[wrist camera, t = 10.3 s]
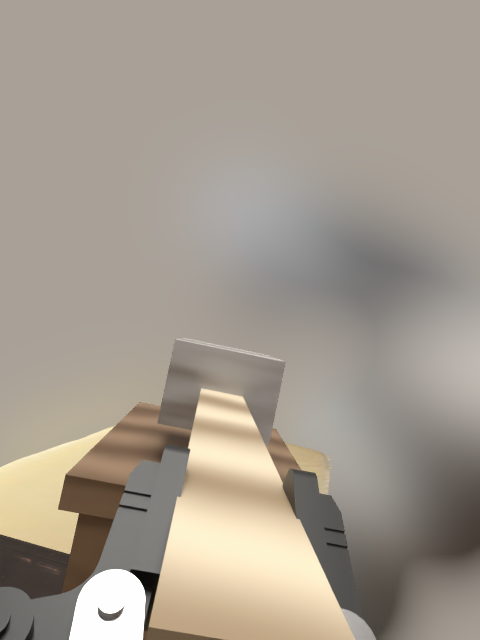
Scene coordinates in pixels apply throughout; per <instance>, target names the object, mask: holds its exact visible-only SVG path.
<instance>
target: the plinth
mask: <svg viewBox="0 0 480 640" xmlns="http://www.w3.org/2000/svg"><path fill="white" fill-rule="evenodd" d="M160 408H161V406H156V405H151V404H146V403H141V402H140V403H138V404H137V405H136V406H135V407H134V408H133V410H132V411H130V412H129V413H128V414H127V415H126V416H125V417H124V418H123V419H122V420H121V421H120V422H119V423H118V424H117V425H116V426H115V427H114V428H113V429H112V430H111V431H110V432H109V433H108V434H107V435H106V436H105V437H104V438H103V439H102V440H101V441H100V442H99V443H97V444H96V445H95V446H94V447H93V448H92V449H91V450H90V451H89V452H88V453H87V454H86V455H85V456H84V457H83V458H82V459H81V460H80V461H79V462H78V463H77V464H76V465H75V466H74V467H73V468H72V469H71V470H70V471H69V472H68V473H67V474H66V476H65V480H64V485H63V489H62V494H61V498H60V503H59V507H58V509H59V510H64V511H70V512H75V513H79V517H78V521H77V526H76V530H75V535H74V540H73V544H72V549H71V553H70V558H69V562H68V567H67V571H66V576H65V580H64V585H63V589H62V593H66V592H68V591H71V590H73V589H75V588H76V587H78V586H80V585H81V584H82V583H84V582H85V581H86V580H87V579H88V578H89V577H90V576H91V574H92V573H93V572H94V570H95V569H96V567H97V565H98V563H99V560H100V558H101V555H102V552H103V549H104V546H105V543H106V541H107V538H108V535H109V532H110V529H111V526H112V524H113V521H114V518H115V515H116V512H117V510H118V508H119V504H120V501H121V498H122V495H123V494H124V490H125V487H126V484H127V481H128V479H129V476H130V473H131V472H132V471H133V470H134V469H135V468H136V467H137V466H138V465H139V464H140V462H141V461H142V460H147V461H152V462H158V463H161V459H162V456H163V452H164V449H165V445H166V444H168V445H173V446H178V447H183V448H188V446H189V441H190V437H191V432H192V430H188V429H183V428H178V427H172V426H167V425H162V424H157V422H158V417H159V412H160ZM265 446H266V448H267V450H268V452H269V454H270V456H271V459H272V461H273V463H274V465H275V467H276V469H277V472H278V474H279V476H280V478H281V480H282V482H283V483H284V480H285V478H286V475H287V472H288V470H289V469H290V468H291V469H296V470H301V469H300V467H299V465H298V464H297V462H296V461H295V459H294V457H293V456H292V454H291V453H290V451H289V449H288V448H287V446H286V445H285V443H284V441H283V440H282V438H281V437H280V435H279V433H278V432H277V430H276V429H272V432H271V437H270V442H269V445H265ZM147 632H148V631H144V633H143V639H142V640H146V637H147Z"/></svg>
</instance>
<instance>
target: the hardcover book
mask: <svg viewBox="0 0 480 640" xmlns="http://www.w3.org/2000/svg"><path fill="white" fill-rule="evenodd" d="M69 558H70V554H66V553H63V552H59V551H56V550H52V549H49V548H45V547H42V546H38V545H35V544H31V543H28V542H24V541H21V540H18V539H14V538H11V537H7V536H4V535H0V587H14V588H17V589H20V590H22V591H23V592H25V593H26V594H27V595H28V596H29V598H30V599H36V598H41V597H47V596H52V595H58V594H62V589H63V585H64V580H65V576H66V571H67V567H68V562H69Z"/></svg>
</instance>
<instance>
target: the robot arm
mask: <svg viewBox="0 0 480 640" xmlns="http://www.w3.org/2000/svg"><path fill="white" fill-rule="evenodd" d="M189 454H190V449H189V448H183V447H178V446H173V445H168V444H166V445H165V449H164V452H163V456H162V459H161V463H158V462H152V461H147V460H142V461H141V462H140V464H139V465H138V466H137V467H136V468H135V469H134V470H133V471H132V472H131V473H130V476H129V479H128V481H127V484H126V487H125V490H124V494H123V495H122V498H121V501H120V504H119V508H118V510H117V512H116V515H115V518H114V521H113V524H112V526H111V529H110V532H109V535H108V538H107V541H106V543H105V546H104V549H103V552H102V555H101V558H100V560H99V563H98V565H97V567H96V569H95V570H94V572H93V573H92V574H91V576H90V577H89V578H88V579H87V580H86V581H85V582H84V583H82V584H81V585H80V586H78V587H76V588H75V589H73V590H71V591H68V592H66V593H62V594H58V595H52V596H47V597H41V598H36V599H30V598H29V596H28V595H27V594H26V593H25V592H23V591H22V590H20V589H17V588H14V587H0V640H142V639H143V633H144V631H148V627H149V623H150V618H151V614H152V609H153V604H154V600H155V595H156V591H157V586H158V582H159V577H160V573H161V568H162V564H163V559H164V555H165V550H166V546H167V541H168V537H169V532H170V527H171V523H172V518H173V514H174V509H175V505H176V500H177V497H181V492H182V488H183V483H184V478H185V473H186V468H187V463H188V459H189ZM282 487H283V489H284V492H285V494H286V496H287V498H288V501H289V503H290V505H291V507H292V510H293V512H294V514H295V516H296V519H300V521H301V524H302V526H303V528H304V530H305V532H306V534H307V537H308V539H309V541H310V543H311V545H312V547H313V550H314V552H315V554H316V556H317V558H318V560H319V563H320V565H321V567H322V569H323V571H324V573H325V576H326V578H327V580H328V582H329V584H330V586H331V589H332V591H333V593H334V595H335V597H336V599H337V602H338V604H339V606H340V608H341V610H342V612H343V615H344V617H345V619H346V621H347V623H348V625H349V628H350V630H351V632H352V634H353V636H354V638H355V640H377V639H375V636H374V634H373V633H372V631H371V629H370V628H369V626H368V625H367V624H366V623H365V622H364V621H363V618H362V616H361V613H360V609H359V605H358V599H357V594H356V589H355V583H354V578H353V573H352V568H351V562H350V557H349V552H348V550H347V541H346V536H345V535H344V525H343V520H342V515H341V512H340V510H339V509H338V507H337V505H336V503H335V502H334V500H333V498H332V496H330V495H325V494H319V488H318V481H317V476H316V474H315V473H312V472H307V471H302V470H296V469H291V468H290V469H289V470H288V472H287V475H286V478H285V480H284V483H283V486H282Z"/></svg>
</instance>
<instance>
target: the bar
mask: <svg viewBox="0 0 480 640" xmlns="http://www.w3.org/2000/svg"><path fill="white" fill-rule="evenodd" d="M284 368H285V362H284V361H282V360H279V359H277V358H275V357H272V356H269V355H263V354H259V353H254V352H249V351H244V350H240V349H235V348H230V347H225V346H220V345H215V344H211V343H206V342H201V341H196V340H191V339H186V338H180V339H175V343H174V348H173V352H172V357H171V361H170V366H169V371H168V376H167V380H166V385H165V389H164V394H163V398H162V403H161V408H160V412H159V417H158V422H157V424H162V425H167V426H172V427H178V428H183V429H188V430H192V432H191V437H190V441H189V446H188V448H189V449H190V454H189V459H188V463H187V468H186V473H185V478H184V483H183V488H182V492H181V497H177V500H176V505H175V509H174V514H173V518H172V523H171V527H170V532H169V537H168V541H167V546H166V550H165V555H164V559H163V564H162V568H161V573H160V577H159V582H158V586H157V591H156V595H155V600H154V604H153V609H152V614H151V618H150V623H149V627H148V632H147V637H146V640H355V638H354V636H353V634H352V632H351V630H350V628H349V625H348V623H347V621H346V619H345V617H344V615H343V612H342V610H341V608H340V606H339V604H338V602H337V599H336V597H335V595H334V593H333V591H332V589H331V586H330V584H329V582H328V580H327V578H326V576H325V573H324V571H323V569H322V567H321V565H320V563H319V560H318V558H317V556H316V554H315V552H314V550H313V547H312V545H311V543H310V541H309V539H308V537H307V534H306V532H305V530H304V528H303V526H302V524H301V521H300V519H296V516H295V514H294V512H293V510H292V507H291V505H290V503H289V501H288V498H287V496H286V494H285V492H284V489H283V487H282V486H283V482H282V480H281V478H280V476H279V474H278V472H277V469H276V467H275V465H274V463H273V461H272V459H271V456H270V454H269V452H268V450H267V448H266V446H265V445H269V442H270V437H271V432H272V427H273V422H274V417H275V411H276V407H277V402H278V397H279V392H280V387H281V382H282V377H283V372H284Z"/></svg>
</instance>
